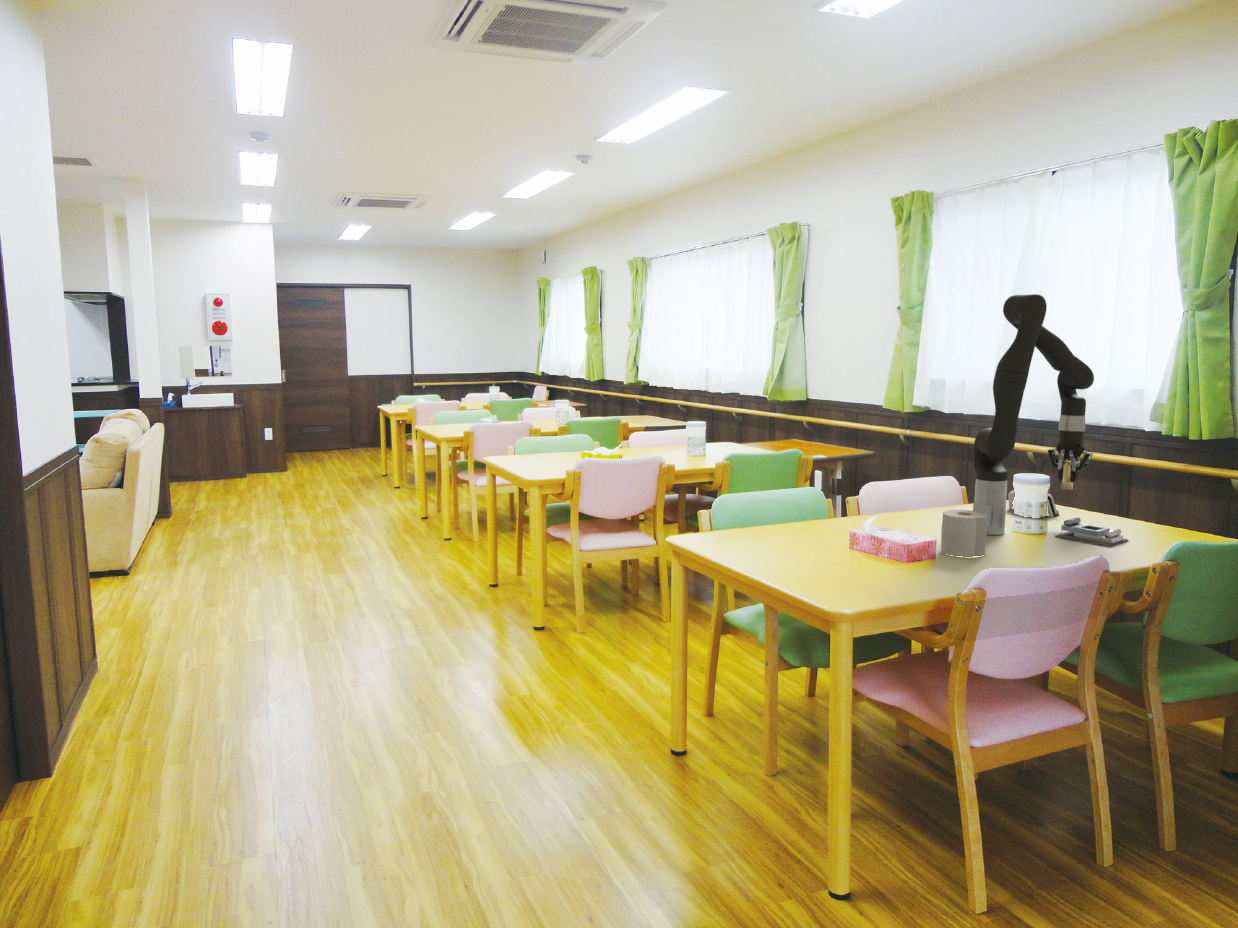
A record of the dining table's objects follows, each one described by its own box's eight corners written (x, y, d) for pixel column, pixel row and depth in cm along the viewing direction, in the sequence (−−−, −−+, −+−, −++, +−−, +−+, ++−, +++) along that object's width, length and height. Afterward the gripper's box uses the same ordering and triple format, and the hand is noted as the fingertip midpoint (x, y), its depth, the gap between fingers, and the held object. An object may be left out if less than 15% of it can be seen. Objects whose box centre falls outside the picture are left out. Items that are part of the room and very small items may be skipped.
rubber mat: (1109, 547, 242) (1109, 545, 241) (1054, 536, 254) (1055, 535, 254) (1128, 541, 248) (1128, 539, 248) (1074, 531, 261) (1074, 530, 261)
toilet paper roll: (955, 559, 230) (957, 519, 228) (932, 549, 242) (934, 510, 240) (994, 557, 232) (996, 517, 230) (969, 547, 244) (971, 508, 242)
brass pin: (1069, 490, 266) (1071, 462, 264) (1059, 488, 268) (1061, 461, 267) (1074, 489, 267) (1076, 461, 266) (1064, 487, 270) (1066, 460, 269)
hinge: (1060, 515, 285) (1056, 489, 282) (1052, 521, 283) (1047, 495, 280) (1017, 507, 300) (1012, 483, 297) (1009, 513, 298) (1004, 488, 295)
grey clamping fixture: (1111, 543, 243) (1113, 528, 243) (1060, 534, 255) (1061, 519, 255) (1122, 540, 247) (1124, 524, 247) (1072, 531, 259) (1073, 516, 259)
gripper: (1043, 428, 268) (1040, 479, 271) (1088, 431, 257) (1084, 485, 260) (1055, 426, 273) (1051, 477, 275) (1100, 430, 261) (1095, 483, 264)
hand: (1067, 481), depth 267 cm, fingers closed on brass pin, 3 cm apart
